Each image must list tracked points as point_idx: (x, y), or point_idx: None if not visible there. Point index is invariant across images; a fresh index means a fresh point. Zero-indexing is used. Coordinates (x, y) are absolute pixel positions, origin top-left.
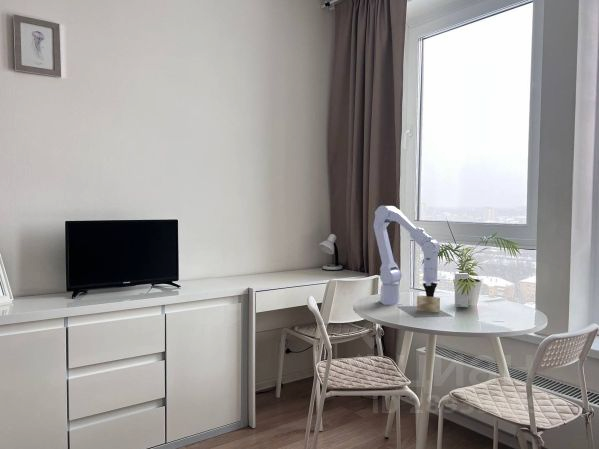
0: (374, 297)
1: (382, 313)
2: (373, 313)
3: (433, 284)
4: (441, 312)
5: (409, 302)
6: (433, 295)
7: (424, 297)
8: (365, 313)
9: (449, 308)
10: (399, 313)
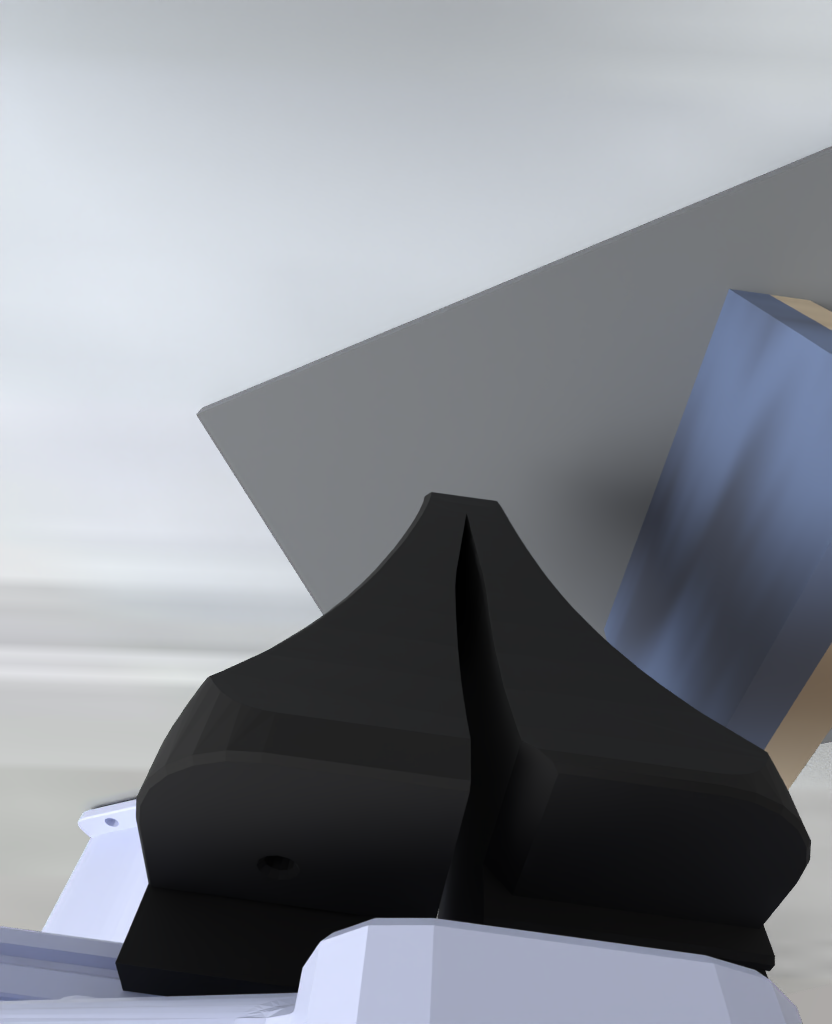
0: (18, 927)
1: (795, 904)
2: (795, 951)
3: (444, 860)
4: (817, 254)
5: (63, 682)
6: (494, 548)
7: (807, 738)
8: (795, 988)
9: (219, 19)
10: (795, 791)
